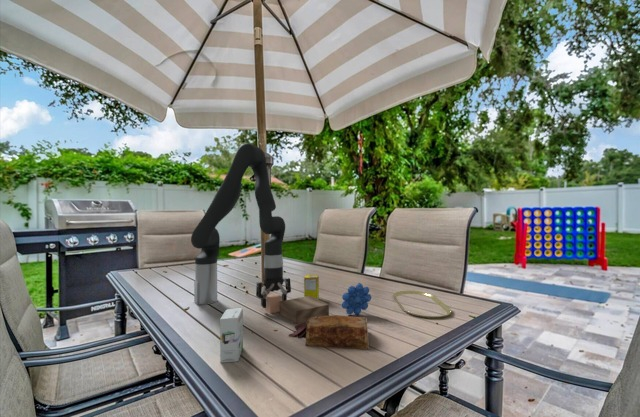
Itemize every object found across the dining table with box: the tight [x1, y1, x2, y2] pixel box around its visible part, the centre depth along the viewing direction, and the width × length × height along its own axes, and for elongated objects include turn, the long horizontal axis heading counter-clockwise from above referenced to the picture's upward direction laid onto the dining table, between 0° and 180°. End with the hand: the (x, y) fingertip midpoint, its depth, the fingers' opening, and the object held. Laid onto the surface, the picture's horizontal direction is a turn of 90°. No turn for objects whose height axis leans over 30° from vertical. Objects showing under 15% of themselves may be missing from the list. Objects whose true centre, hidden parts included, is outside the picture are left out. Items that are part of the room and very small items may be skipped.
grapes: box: [341, 283, 372, 315], centre depth 115 cm, size 12×7×12 cm, turn 95°
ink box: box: [219, 307, 244, 364], centre depth 83 cm, size 8×5×12 cm, turn 6°
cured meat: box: [288, 314, 370, 350], centre depth 96 cm, size 18×25×7 cm
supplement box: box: [303, 274, 320, 300], centre depth 134 cm, size 6×6×11 cm
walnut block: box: [279, 296, 330, 325], centre depth 115 cm, size 14×14×5 cm
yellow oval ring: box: [392, 290, 452, 320], centre depth 127 cm, size 19×35×2 cm, turn 178°
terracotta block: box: [264, 292, 282, 314], centre depth 120 cm, size 5×5×6 cm
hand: (274, 305), depth 120 cm, fingers open, 8 cm apart
